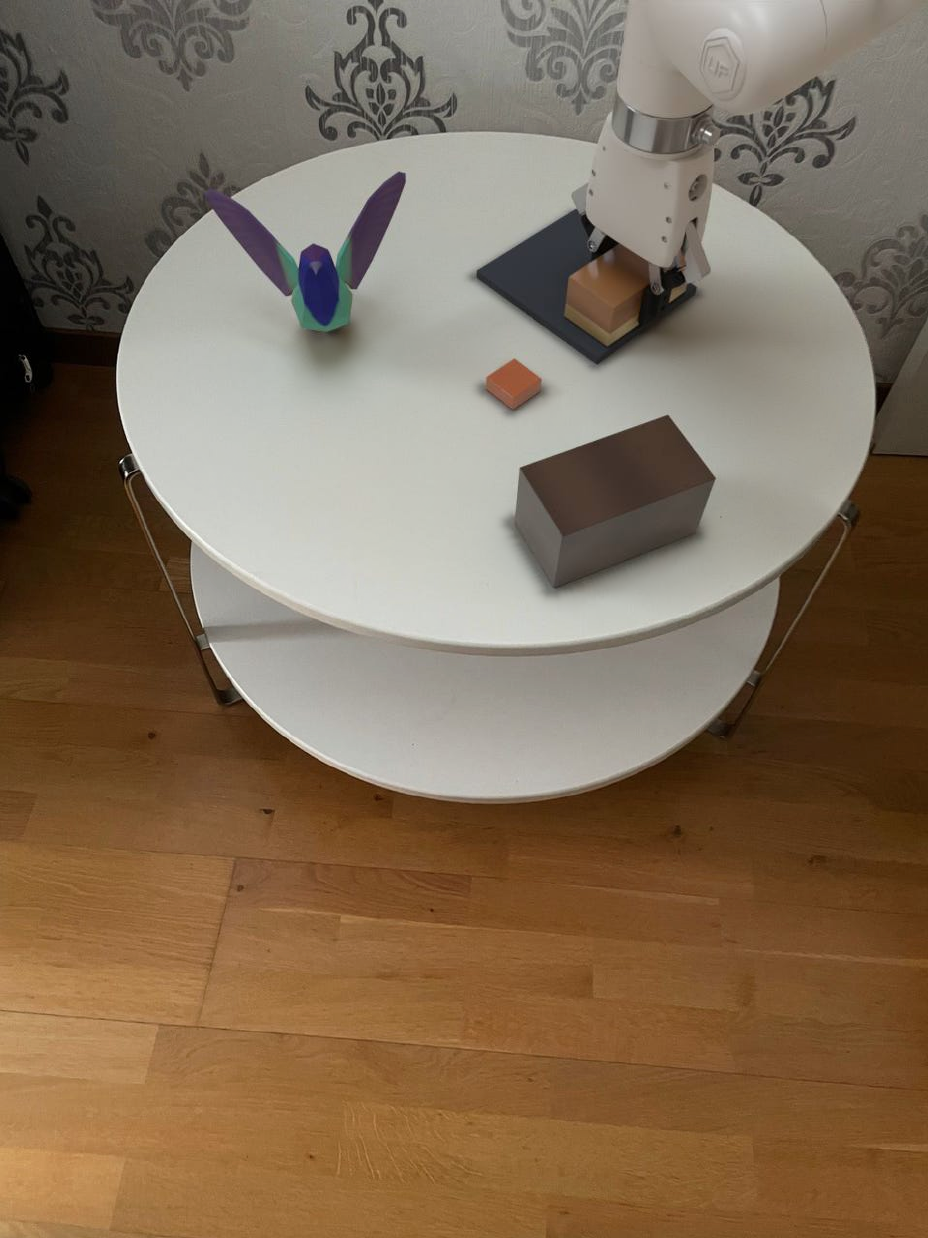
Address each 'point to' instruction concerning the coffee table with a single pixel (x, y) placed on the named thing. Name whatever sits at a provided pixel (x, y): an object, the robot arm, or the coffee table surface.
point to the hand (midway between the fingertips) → (625, 299)
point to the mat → (555, 282)
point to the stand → (611, 499)
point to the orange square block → (513, 384)
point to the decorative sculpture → (315, 256)
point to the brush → (610, 293)
